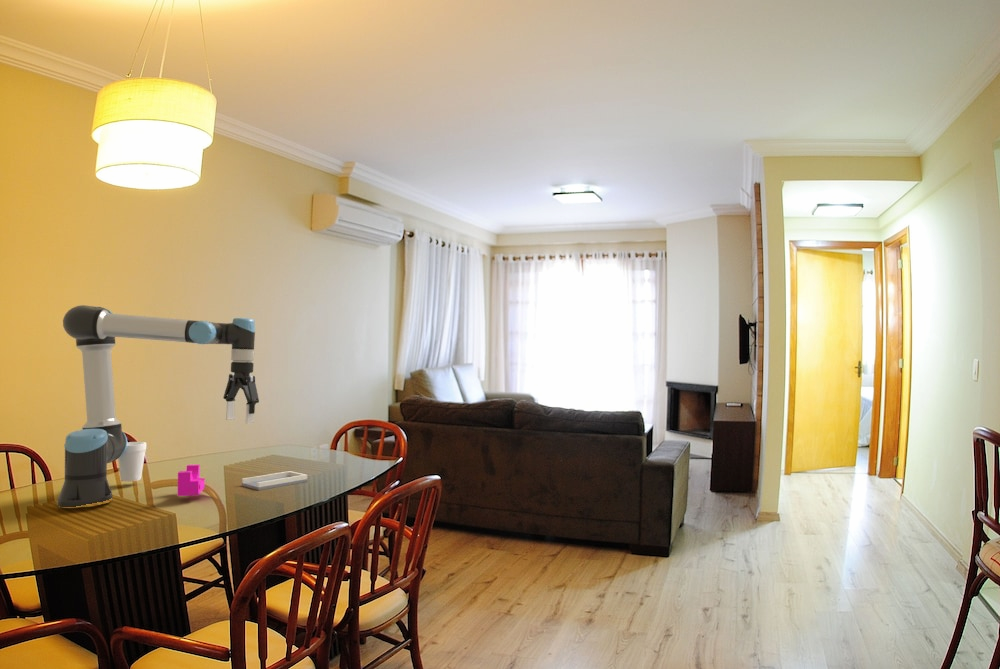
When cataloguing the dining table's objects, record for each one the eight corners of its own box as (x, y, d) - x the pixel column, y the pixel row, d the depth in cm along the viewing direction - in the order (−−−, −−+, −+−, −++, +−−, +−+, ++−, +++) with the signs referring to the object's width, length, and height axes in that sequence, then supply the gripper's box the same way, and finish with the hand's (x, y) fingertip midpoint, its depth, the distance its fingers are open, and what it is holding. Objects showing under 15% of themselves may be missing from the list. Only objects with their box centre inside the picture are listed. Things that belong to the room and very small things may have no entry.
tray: (258, 490, 227) (259, 482, 227) (241, 485, 234) (241, 478, 234) (307, 481, 241) (307, 474, 242) (289, 477, 249) (289, 471, 249)
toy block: (198, 495, 220) (198, 472, 220) (177, 495, 219) (177, 472, 219) (207, 485, 235) (207, 464, 235) (187, 486, 233) (188, 464, 234)
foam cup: (132, 482, 238) (133, 446, 238) (109, 481, 240) (110, 445, 240) (151, 477, 247) (152, 442, 248) (129, 476, 249) (130, 441, 249)
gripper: (270, 362, 235) (268, 423, 234) (234, 360, 251) (232, 417, 250) (250, 362, 229) (248, 425, 229) (215, 360, 245) (212, 418, 245)
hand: (239, 421), depth 239 cm, fingers open, 13 cm apart
